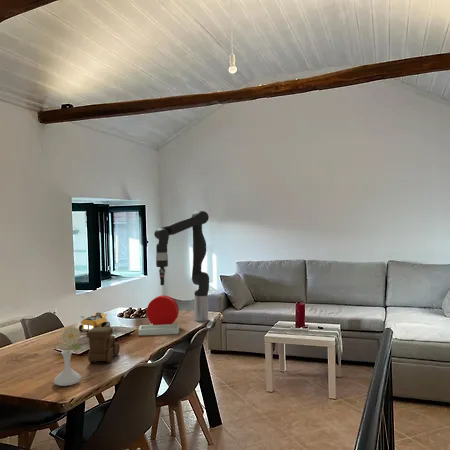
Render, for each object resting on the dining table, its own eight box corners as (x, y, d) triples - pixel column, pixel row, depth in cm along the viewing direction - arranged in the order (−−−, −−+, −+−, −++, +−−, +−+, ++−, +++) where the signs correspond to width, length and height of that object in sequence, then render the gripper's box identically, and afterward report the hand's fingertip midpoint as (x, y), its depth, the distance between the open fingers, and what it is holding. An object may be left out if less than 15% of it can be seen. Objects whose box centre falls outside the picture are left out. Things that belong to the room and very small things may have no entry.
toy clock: (179, 325, 289) (178, 295, 289) (177, 327, 284) (176, 297, 283) (149, 325, 291) (148, 295, 291) (146, 327, 286) (146, 296, 285)
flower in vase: (47, 386, 188) (46, 328, 187) (66, 377, 198) (65, 322, 198) (72, 390, 183) (71, 330, 183) (90, 380, 194) (89, 324, 193)
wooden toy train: (108, 366, 212) (107, 332, 212) (85, 366, 213) (84, 332, 213) (121, 353, 232) (120, 322, 232) (100, 353, 233) (99, 322, 233)
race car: (77, 332, 277) (76, 315, 277) (92, 326, 291) (92, 310, 291) (96, 334, 272) (96, 317, 272) (111, 328, 286) (111, 312, 286)
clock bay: (139, 331, 277) (139, 325, 277) (178, 329, 280) (178, 323, 280) (138, 335, 267) (138, 329, 267) (179, 333, 270) (179, 328, 270)
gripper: (167, 260, 280) (168, 285, 280) (167, 258, 294) (168, 282, 294) (155, 260, 279) (156, 286, 279) (156, 258, 293) (157, 282, 294)
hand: (162, 284), depth 287 cm, fingers open, 8 cm apart
